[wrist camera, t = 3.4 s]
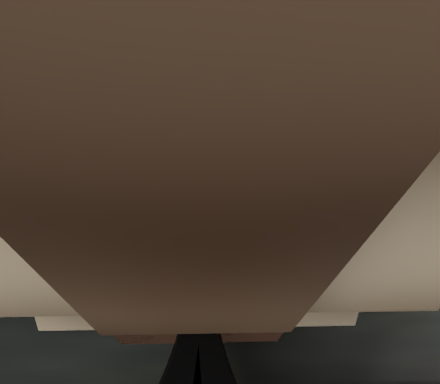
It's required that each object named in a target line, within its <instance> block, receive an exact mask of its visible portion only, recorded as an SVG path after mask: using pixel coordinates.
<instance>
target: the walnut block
mask: <svg viewBox="0 0 440 384" xmlns="http://www.w3.org/2000/svg"><path fill="white" fill-rule="evenodd" d="M439 152H440V0H0V237H1V238H2V239H3V240H4V241H5V242H6V243H7V244H8V245H9V246H10V247H11V248H12V249H13V250H14V251H15V252H16V253H17V254H18V255H19V256H20V257H21V258H22V259H23V260H24V261H25V262H26V263H27V264H28V265H29V266H30V267H31V268H32V269H34V270H35V271H36V272H37V273H38V274H39V275H40V276H41V277H42V278H43V279H44V280H45V281H46V282H47V283H48V284H49V285H50V286H51V287H52V288H53V289H54V290H55V291H56V292H57V293H58V294H59V295H60V296H61V297H62V298H63V299H64V300H65V301H66V302H67V303H68V304H69V305H70V306H71V307H72V308H73V309H74V310H75V311H76V312H77V313H78V314H79V315H80V316H81V317H82V318H83V319H84V320H85V321H86V322H87V323H88V324H89V325H90V326H91V327H92V328H93V329H94V330H95V331H96V332H97V333H98V334H99V335H154V334H211V333H268V332H291V331H292V330H293V329H294V328H295V327H296V325H297V324H298V323H299V322H300V320H301V319H302V318H303V317H304V316H305V314H306V313H307V312H308V311H309V310H310V308H311V307H312V306H313V305H314V303H315V302H316V301H317V300H318V299H319V297H320V296H321V295H322V294H323V293H324V291H325V290H326V289H327V288H328V286H329V285H330V284H331V283H332V282H333V280H334V279H335V278H336V277H337V276H338V274H339V273H340V272H341V271H342V269H343V268H344V267H345V266H346V265H347V263H348V262H349V261H350V260H351V258H352V257H353V256H354V255H355V254H356V252H357V251H358V250H359V249H360V248H361V246H362V245H363V244H364V243H365V241H366V240H367V239H368V238H369V237H370V235H371V234H372V233H373V232H374V231H375V229H376V228H377V227H378V226H379V224H380V223H381V222H382V221H383V220H384V218H385V217H386V216H387V215H388V214H389V212H390V211H391V210H392V209H393V207H394V206H395V205H396V204H397V203H398V201H399V200H400V199H401V198H402V197H403V195H404V194H405V193H406V192H407V190H408V189H409V188H410V187H411V186H412V184H413V183H414V182H415V181H416V180H417V178H418V177H419V176H420V175H421V173H422V172H423V171H424V170H425V169H426V167H427V166H428V165H429V164H430V163H431V161H432V160H433V159H434V158H435V156H436V155H437V154H438V153H439Z"/></svg>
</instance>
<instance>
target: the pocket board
mask: <svg viewBox="0 0 440 384" xmlns="http://www.w3.org/2000/svg"><path fill="white" fill-rule="evenodd" d="M439 307H440V152H439V153H438V154H437V155H436V156H435V158H434V159H433V160H432V161H431V163H430V164H429V165H428V166H427V167H426V169H425V170H424V171H423V172H422V173H421V175H420V176H419V177H418V178H417V180H416V181H415V182H414V183H413V184H412V186H411V187H410V188H409V189H408V190H407V192H406V193H405V194H404V195H403V197H402V198H401V199H400V200H399V201H398V203H397V204H396V205H395V206H394V207H393V209H392V210H391V211H390V212H389V214H388V215H387V216H386V217H385V218H384V220H383V221H382V222H381V223H380V224H379V226H378V227H377V228H376V229H375V231H374V232H373V233H372V234H371V235H370V237H369V238H368V239H367V240H366V241H365V243H364V244H363V245H362V246H361V248H360V249H359V250H358V251H357V252H356V254H355V255H354V256H353V257H352V258H351V260H350V261H349V262H348V263H347V265H346V266H345V267H344V268H343V269H342V271H341V272H340V273H339V274H338V276H337V277H336V278H335V279H334V280H333V282H332V283H331V284H330V285H329V286H328V288H327V289H326V290H325V291H324V293H323V294H322V295H321V296H320V297H319V299H318V300H317V301H316V302H315V303H314V305H313V306H312V307H311V308H310V310H309V311H308V312H307V313H306V314H305V316H304V317H303V318H302V319H301V320H300V322H299V323H298V324H297V325H296V327H297V326H355V324H356V320H357V317H358V313H359V312H381V311H438V310H439ZM0 317H35V320H36V323H37V327H38V330H39V331H58V330H94V329H93V328H92V327H91V326H90V325H89V324H88V323H87V322H86V321H85V320H84V319H83V318H82V317H81V316H80V315H79V314H78V313H77V312H76V311H75V310H74V309H73V308H72V307H71V306H70V305H69V304H68V303H67V302H66V301H65V300H64V299H63V298H62V297H61V296H60V295H59V294H58V293H57V292H56V291H55V290H54V289H53V288H52V287H51V286H50V285H49V284H48V283H47V282H46V281H45V280H44V279H43V278H42V277H41V276H40V275H39V274H38V273H37V272H36V271H35V270H34V269H32V268H31V267H30V266H29V265H28V264H27V263H26V262H25V261H24V260H23V259H22V258H21V257H20V256H19V255H18V254H17V253H16V252H15V251H14V250H13V249H12V248H11V247H10V246H9V245H8V244H7V243H6V242H5V241H4V240H3V239H2V238H1V237H0Z"/></svg>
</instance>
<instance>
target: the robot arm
mask: <svg viewBox="0 0 440 384" xmlns="http://www.w3.org/2000/svg"><path fill="white" fill-rule="evenodd" d="M159 384H237V383H236V380H235V378H234V375H233V373H232V370H231V367H230V364H229V362H228V358H227V355H226V352H225V349H224V345H223V341H222V337H221V333H211V334H177V336H176V340H175V343H174V347H173V350H172V352H171V355H170V358H169V361H168V363H167V366H166V368H165V371H164V373H163V375H162V378H161V380H160V383H159Z"/></svg>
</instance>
